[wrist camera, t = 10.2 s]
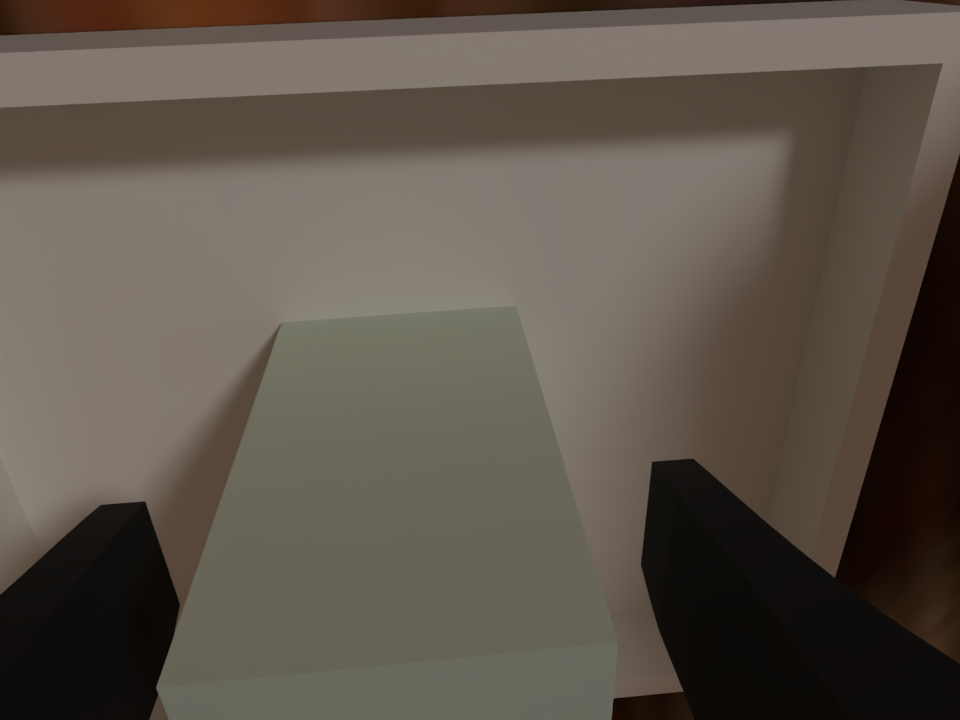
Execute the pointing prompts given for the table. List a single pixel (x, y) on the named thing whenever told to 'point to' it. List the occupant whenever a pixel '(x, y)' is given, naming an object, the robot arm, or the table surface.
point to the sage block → (396, 539)
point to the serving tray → (475, 248)
